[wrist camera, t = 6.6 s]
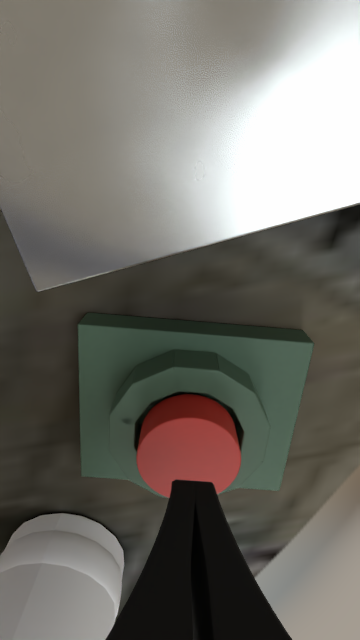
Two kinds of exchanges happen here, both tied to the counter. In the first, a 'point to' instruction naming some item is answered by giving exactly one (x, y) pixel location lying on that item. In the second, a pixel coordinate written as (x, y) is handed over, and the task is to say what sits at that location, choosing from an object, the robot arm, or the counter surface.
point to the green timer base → (188, 388)
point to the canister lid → (171, 125)
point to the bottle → (60, 580)
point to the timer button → (188, 444)
